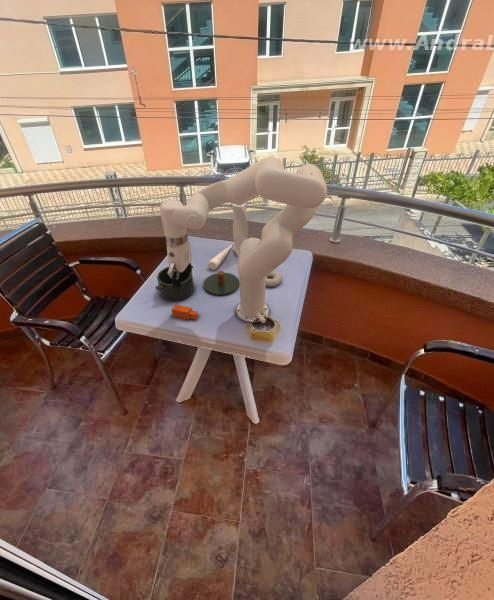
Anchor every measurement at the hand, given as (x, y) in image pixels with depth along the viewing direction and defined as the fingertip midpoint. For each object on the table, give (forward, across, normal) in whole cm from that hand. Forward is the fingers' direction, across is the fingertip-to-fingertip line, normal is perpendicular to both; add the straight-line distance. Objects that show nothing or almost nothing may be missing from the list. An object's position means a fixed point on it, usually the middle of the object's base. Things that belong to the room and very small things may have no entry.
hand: (182, 278), depth 119 cm
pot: (+16, +11, +10) cm, 22 cm away
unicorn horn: (+16, +40, -1) cm, 43 cm away
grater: (+3, +60, -2) cm, 60 cm away
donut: (+16, +28, -28) cm, 42 cm away
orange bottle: (+16, -3, +1) cm, 17 cm away
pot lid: (+15, +20, -8) cm, 26 cm away
